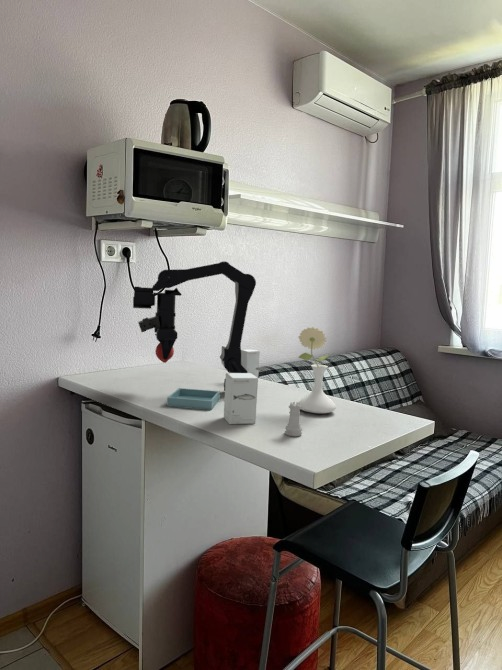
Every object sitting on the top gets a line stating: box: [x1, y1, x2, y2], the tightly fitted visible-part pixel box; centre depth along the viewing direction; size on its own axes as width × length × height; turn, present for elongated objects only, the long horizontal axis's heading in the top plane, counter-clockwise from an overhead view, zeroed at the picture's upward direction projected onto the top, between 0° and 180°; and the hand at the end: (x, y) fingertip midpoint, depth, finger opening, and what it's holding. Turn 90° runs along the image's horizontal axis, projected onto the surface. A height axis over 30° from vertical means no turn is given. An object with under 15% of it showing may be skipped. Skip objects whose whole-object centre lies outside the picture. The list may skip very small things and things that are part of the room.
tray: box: [166, 387, 221, 411], centre depth 159 cm, size 13×13×3 cm
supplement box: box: [223, 372, 259, 425], centre depth 142 cm, size 7×7×13 cm
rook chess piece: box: [284, 401, 303, 438], centre depth 133 cm, size 4×4×8 cm
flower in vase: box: [298, 326, 337, 414], centre depth 156 cm, size 13×11×25 cm
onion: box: [155, 342, 175, 363], centre depth 169 cm, size 6×6×8 cm
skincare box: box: [241, 349, 261, 379], centre depth 192 cm, size 6×4×12 cm
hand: (164, 357), depth 169 cm, fingers closed on onion, 6 cm apart
